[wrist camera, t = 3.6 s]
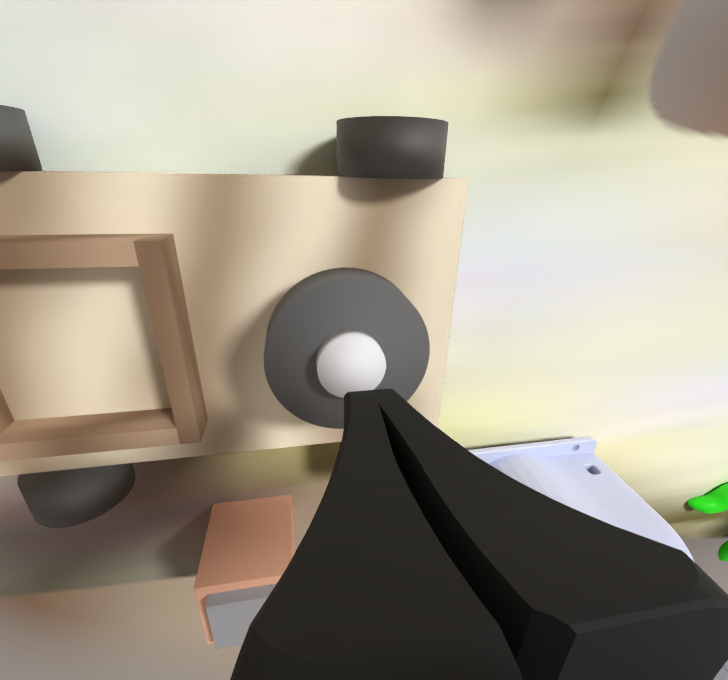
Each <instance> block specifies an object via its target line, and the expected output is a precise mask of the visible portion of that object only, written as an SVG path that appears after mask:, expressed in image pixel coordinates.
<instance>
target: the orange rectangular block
mask: <svg viewBox="0 0 728 680" xmlns="http://www.w3.org/2000/svg"><path fill="white" fill-rule="evenodd" d="M295 552H296V551H295V534H294V522H293V510H292V497H291V495H283V496H275V497H267V498H259V499H250V500H242V501H234V502H226V503H218V504H213V506H212V511H211V515H210V520H209V524H208V528H207V533H206V537H205V542H204V546H203V550H202V555H201V559H200V564H199V568H198V573H197V577H196V581H195V586H194V591H195V595H196V599H197V602H198V607H199V610H200V614H201V618H202V622H203V626H204V629H205V633H206V637H207V641H208V644H212V643H215V647H216V649H220V648H226V647H231V646H237V645H242V644H243V642H244V639H245V636H246V634H247V631H248V628H249V625H250V624H251V622H252V621H253V619H254V618H255V616H256V614H257V613H258V611H259V610H260V608H261V607H262V605H263V604H264V602H265V601H266V599H267V598H268V596H269V595H270V593H271V592H272V590H273V589H274V587H275V586H276V584H277V582H278V581H279V579H280V578H281V576H282V575H283V573H284V571H285V570H286V568H287V566H288V564H289V563H290V561H291V559H292V557H293V555H294V554H295Z"/></svg>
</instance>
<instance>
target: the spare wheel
mask: <svg viewBox="0 0 728 680" xmlns="http://www.w3.org/2000/svg"><path fill="white" fill-rule="evenodd" d="M429 356H430V343H429V335H428V332H427V328H426V325H425V323H424V321H423V318H422V317H421V315H420V313H419V312H418V310H417V309H416V308H415V307H414V305H413V304H412V303H411V302H410V301H409V300H408V298H407V297H406V296H405V295H404V294H403V293H402V292H401V291H400V289H399V288H397V287H396V286H395V285H394V284H393V283H392V282H390V281H389V280H387V279H386V278H384V277H382V276H380V275H378V274H376V273H374V272H371V271H368V270H364V269H358V268H347V267H343V268H332V269H328V270H323V271H320V272H318V273H315V274H312V275H310V276H308V277H306V278H304V279H302V280H301V281H300V282H298V283H297V284H295V285H294V286H293V287H292V288H291V289H289V290H288V291H287V292H286V293H285V294H284V296H283V297H282V298H281V299H280V300H279V302H278V304H277V305H276V307H275V308H274V310H273V313H272V315H271V317H270V320H269V324H268V327H267V334H266V342H265V349H264V370H265V375H266V379H267V382H268V384H269V387H270V389H271V391H272V392H273V394H274V396H275V397H276V398H277V400H278V401H279V402H280V403H281V404H282V406H283V407H284V408H285V409H287V410H288V411H289V412H290V413H292V414H293V415H294V416H296V417H298V418H299V419H301V420H303V421H306V422H308V423H310V424H313V425H317V426H320V427H325V428H333V429H344V395H345V394H346V393H347V392H353V391H365V390H378V389H391V388H392V389H393V390H394V391H396V392H397V393H398V394H399V395H400V396H401V397H402V398H403V399H404V400H406V401H408V400H409V399H410V398H411V396H412V395H413V394H414V393H415V391H416V390H417V388H418V387H419V385H420V383H421V382H422V379H423V377H424V375H425V373H426V369H427V366H428V361H429Z"/></svg>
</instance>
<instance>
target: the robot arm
mask: <svg viewBox="0 0 728 680" xmlns="http://www.w3.org/2000/svg"><path fill="white" fill-rule="evenodd" d="M595 447H596V441H595V440H594V439H593V438H592V437H580V438H571V439H562V440H553V441H544V442H535V443H526V444H517V445H509V446H500V447H491V448H482V449H473V450H467V449H465V448H464V447H462V446H461V445H460V444H458V443H457V442H456V441H454V440H453V439H451V438H450V437H449V436H447V435H446V434H445V433H444V432H442V431H441V430H440V429H438V428H437V427H436V426H435V425H433V424H432V423H431V422H430V421H429V420H427V419H426V418H425V417H424V416H423V415H422V414H420V413H419V412H418V411H417V410H416V409H415V408H413V407H412V406H411V405H410V404H409V403H408V402H407V401H406V400H404V399H403V398H402V397H401V396H400V395H399V394H398V393H397V392H396V391H394V390H393V389H392V388H391V389H378V390H365V391H353V392H347V393H346V394H345V395H344V431H343V436H342V441H341V445H340V449H339V452H338V456H337V459H336V463H335V466H334V469H333V472H332V475H331V478H330V480H329V483H328V486H327V488H326V491H325V493H324V496H323V498H322V500H321V502H320V505H319V507H318V509H317V511H316V513H315V516H314V518H313V520H312V522H311V524H310V526H309V528H308V530H307V532H306V534H305V536H304V538H303V539H302V541H301V543H300V545H299V546H298V548H297V550H296V552H295V554H294V555H293V557H292V559H291V561H290V563H289V564H288V566H287V568H286V570H285V571H284V573H283V575H282V576H281V578H280V579H279V581H278V582H277V584H276V586H275V587H274V589H273V590H272V592H271V593H270V595H269V596H268V598H267V599H266V601H265V602H264V604H263V605H262V607H261V608H260V610H259V611H258V613H257V614H256V616H255V618H254V619H253V621H252V622H251V624H250V625H249V628H248V631H247V634H246V636H245V639H244V642H243V645H242V647H241V650H240V653H239V656H238V658H237V662H236V664H235V668H234V670H233V673H232V677H231V679H230V680H728V594H726V593H725V592H724V591H723V590H722V589H721V588H720V587H719V586H718V585H717V584H716V583H715V582H714V581H713V580H712V579H711V578H710V577H709V576H708V575H707V574H706V573H705V572H704V571H703V570H702V569H701V568H700V567H699V566H698V565H697V564H696V563H695V561H694V559H693V557H692V556H691V554H690V552H689V550H688V548H687V547H686V545H685V544H684V542H683V541H682V539H681V538H680V536H679V535H678V534H677V533H676V532H675V530H674V529H673V528H672V527H671V526H670V525H669V524H668V523H667V522H666V521H665V520H664V519H663V518H662V517H661V516H660V515H659V514H658V513H657V512H656V511H655V510H654V509H653V508H651V507H650V506H649V505H648V504H647V503H646V502H645V501H644V500H643V499H642V498H641V497H640V496H639V495H638V494H637V493H636V492H635V491H633V490H632V489H631V488H630V487H629V486H628V485H627V484H626V483H625V482H624V481H623V480H622V479H621V478H620V477H619V476H618V475H617V474H616V473H614V472H613V471H612V470H611V469H610V468H609V467H608V466H607V465H606V464H605V463H604V462H603V461H602V460H601V459H600V458H599V457H598V456H596V455H595V454H594V450H595Z"/></svg>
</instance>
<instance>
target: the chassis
mask: <svg viewBox="0 0 728 680" xmlns="http://www.w3.org/2000/svg"><path fill="white" fill-rule="evenodd" d="M447 131H448V122H446V121H443V120H438V119H430V118H420V117H400V116H370V117H353V118H345V119H340V120H337V176H307V175H247V174H187V173H127V172H67V171H43V170H42V167H41V163H40V160H39V157H38V154H37V150H36V147H35V144H34V141H33V137H32V134H31V131H30V127H29V124H28V121H27V118H26V114H25V111H24V110H22V109H19V108H14V107H9V106H3V105H0V476H9V475H19V474H20V475H19V478H18V487H19V489H20V491H21V493H22V495H23V497H24V499H25V501H26V503H27V505H28V507H29V509H30V511H31V513H32V515H33V517H34V519H35V521H36V522H37V523H39V524H40V525H43V526H46V527H51V528H61V527H69V526H73V525H77V524H81V523H84V522H87V521H89V520H91V519H94V518H96V517H98V516H100V515H102V514H103V513H105V512H107V511H108V510H110V509H111V508H113V507H114V506H115V505H117V504H118V503H119V502H120V501H121V500H122V499H124V497H125V496H126V495H127V494H128V493H129V491H130V490H131V488H132V487H133V485H134V482H135V471H134V468H133V465H132V463H136V462H146V461H156V460H166V459H176V458H185V457H195V456H205V455H215V454H225V453H234V452H244V451H254V450H264V449H274V448H283V447H293V446H303V445H313V444H323V443H332V442H340V445H341V441H342V436H343V431H344V429H333V428H325V427H320V426H317V425H313V424H310V423H308V422H306V421H303V420H301V419H299V418H298V417H296V416H294V415H293V414H292V413H290V412H289V411H288V410H287V409H285V408H284V407H283V406H282V404H281V403H280V402H279V401H278V400H277V398H276V397H275V396H274V394H273V392H272V391H271V389H270V387H269V384H268V382H267V379H266V375H265V370H264V349H265V342H266V334H267V327H268V324H269V320H270V317H271V315H272V313H273V310H274V308H275V307H276V305H277V304H278V302H279V300H280V299H281V298H282V297H283V296H284V294H285V293H286V292H287V291H288V290H289V289H291V288H292V287H293V286H294V285H295V284H297V283H298V282H300V281H301V280H302V279H304V278H306V277H308V276H310V275H312V274H315V273H318V272H320V271H323V270H328V269H332V268H343V267H347V268H358V269H364V270H368V271H371V272H374V273H376V274H378V275H380V276H382V277H384V278H386V279H387V280H389V281H390V282H392V283H393V284H394V285H395V286H396V287H397V288H399V289H400V291H401V292H402V293H403V294H404V295H405V296H406V297H407V298H408V300H409V301H410V302H411V303H412V304H413V305H414V307H415V308H416V309H417V310H418V312H419V313H420V315H421V317H422V318H423V321H424V323H425V325H426V328H427V332H428V335H429V343H430V356H429V361H428V366H427V369H426V373H425V375H424V377H423V379H422V382H421V383H420V385H419V387H418V388H417V390H416V391H415V393H414V394H413V395H412V396H411V398H410V399H409V400H408V401H407V402H408V403H409V404H410V405H411V406H412V407H413V408H415V409H416V410H417V411H418V412H419V413H420V414H422V415H423V416H424V417H425V418H426V419H427V420H429V421H430V422H431V423H432V424H433V425H435V426H436V427H437V428H438V424H439V416H440V408H441V400H442V392H443V384H444V376H445V367H446V359H447V351H448V343H449V335H450V327H451V319H452V311H453V303H454V295H455V287H456V279H457V271H458V263H459V255H460V246H461V238H462V230H463V222H464V214H465V206H466V198H467V190H468V182H469V179H465V178H443V172H444V162H445V152H446V141H447Z"/></svg>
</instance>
